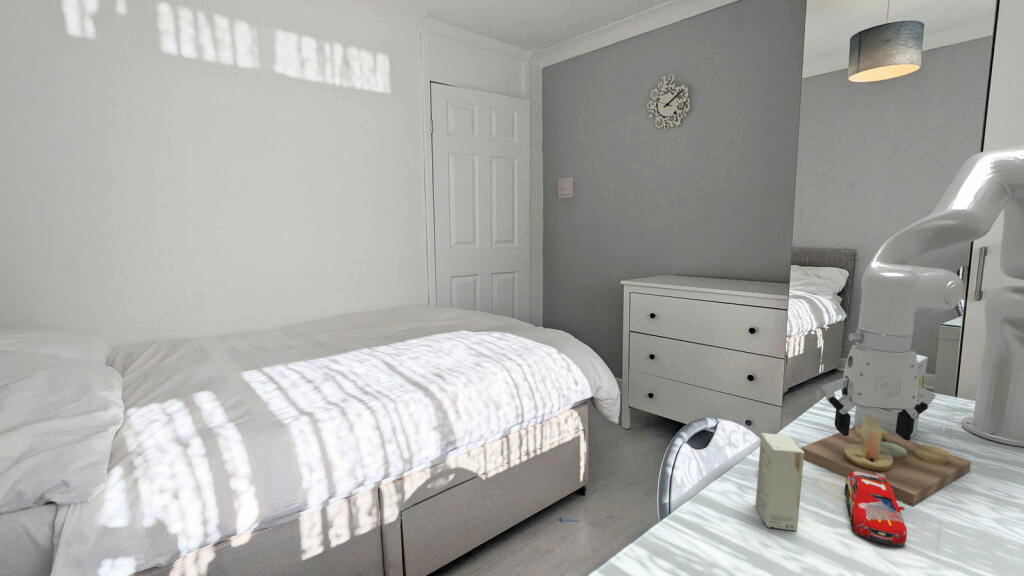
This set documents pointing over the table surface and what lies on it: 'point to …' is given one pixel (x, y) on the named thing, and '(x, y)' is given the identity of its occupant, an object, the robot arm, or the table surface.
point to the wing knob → (869, 448)
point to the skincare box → (779, 481)
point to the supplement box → (889, 416)
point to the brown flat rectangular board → (894, 463)
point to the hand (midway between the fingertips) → (872, 434)
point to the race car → (874, 509)
